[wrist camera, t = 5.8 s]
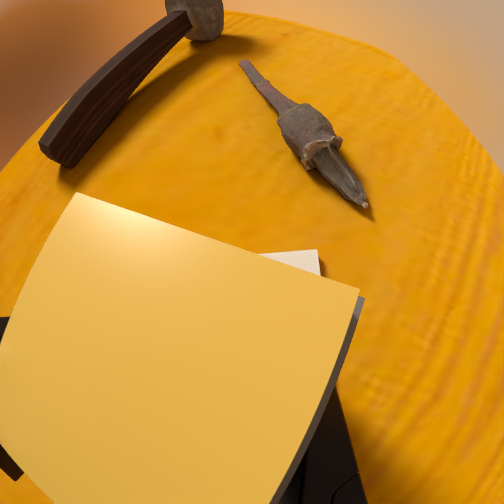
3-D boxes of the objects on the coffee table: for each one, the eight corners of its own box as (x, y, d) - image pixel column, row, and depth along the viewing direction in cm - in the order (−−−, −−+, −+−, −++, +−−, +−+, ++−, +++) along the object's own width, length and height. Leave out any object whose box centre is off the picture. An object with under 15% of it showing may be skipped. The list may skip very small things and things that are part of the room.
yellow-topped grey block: (270, 452, 11) (214, 605, 2) (174, 408, 13) (-25, 417, 3) (312, 357, 13) (381, 278, 3) (215, 319, 14) (76, 180, 5)
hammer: (94, 190, 29) (230, 29, 35) (27, 135, 19) (211, -32, 24) (73, 179, 31) (205, 28, 36) (12, 129, 20) (183, -28, 26)
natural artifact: (344, 227, 21) (319, 217, 18) (243, 69, 30) (218, 53, 27) (386, 198, 19) (368, 181, 16) (266, 48, 28) (242, 29, 25)
